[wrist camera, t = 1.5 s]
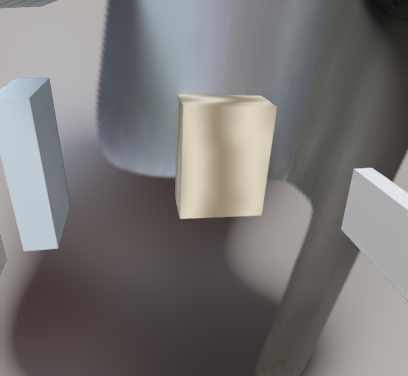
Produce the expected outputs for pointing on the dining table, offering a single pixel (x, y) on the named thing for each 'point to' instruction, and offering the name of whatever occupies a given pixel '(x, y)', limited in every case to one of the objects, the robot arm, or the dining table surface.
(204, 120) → the maple block
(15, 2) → the supplement box
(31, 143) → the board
